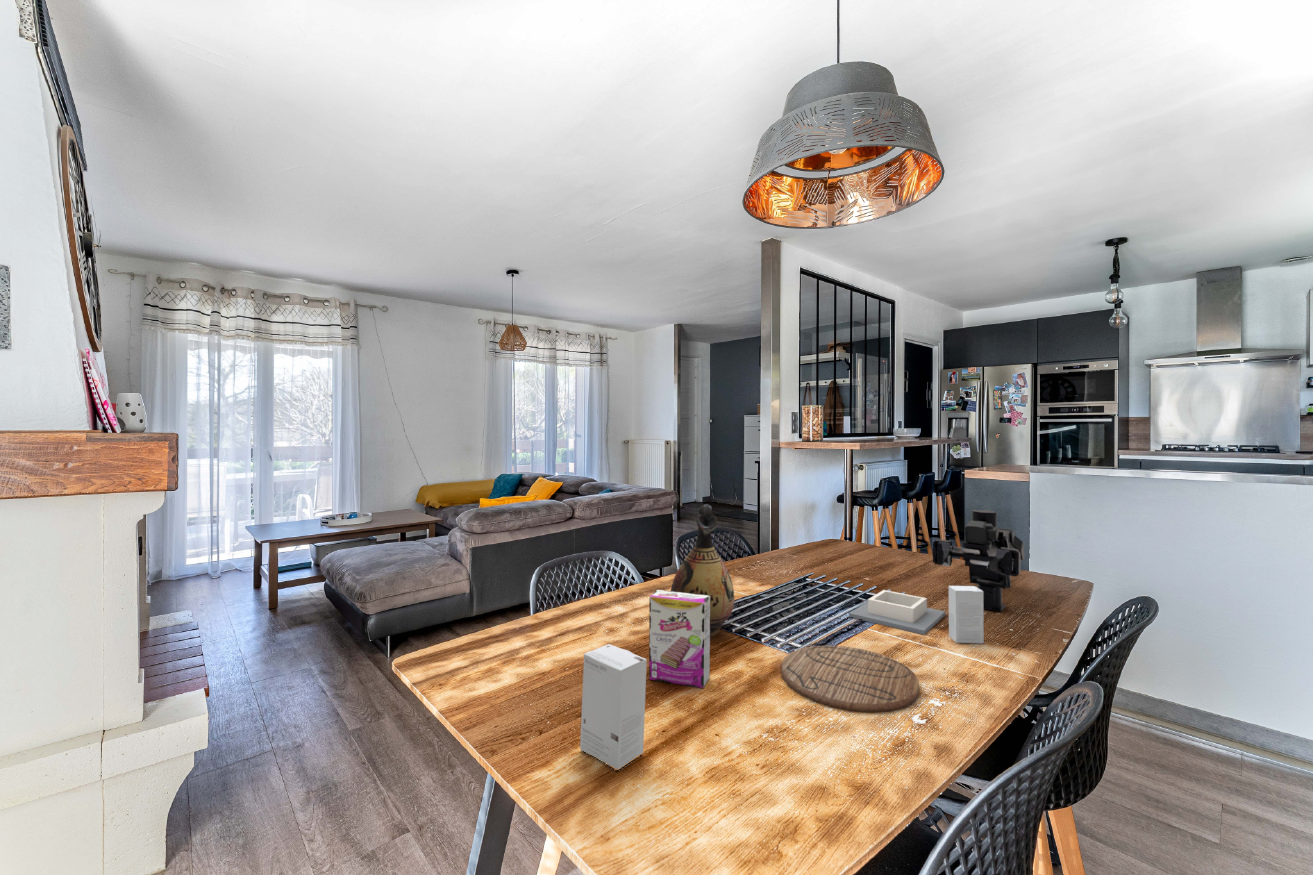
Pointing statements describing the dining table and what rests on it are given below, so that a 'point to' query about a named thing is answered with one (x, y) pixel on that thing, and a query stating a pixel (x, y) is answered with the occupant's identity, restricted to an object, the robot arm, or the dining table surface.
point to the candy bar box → (679, 638)
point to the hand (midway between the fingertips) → (966, 563)
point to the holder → (897, 606)
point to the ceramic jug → (707, 573)
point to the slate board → (918, 626)
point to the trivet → (850, 679)
